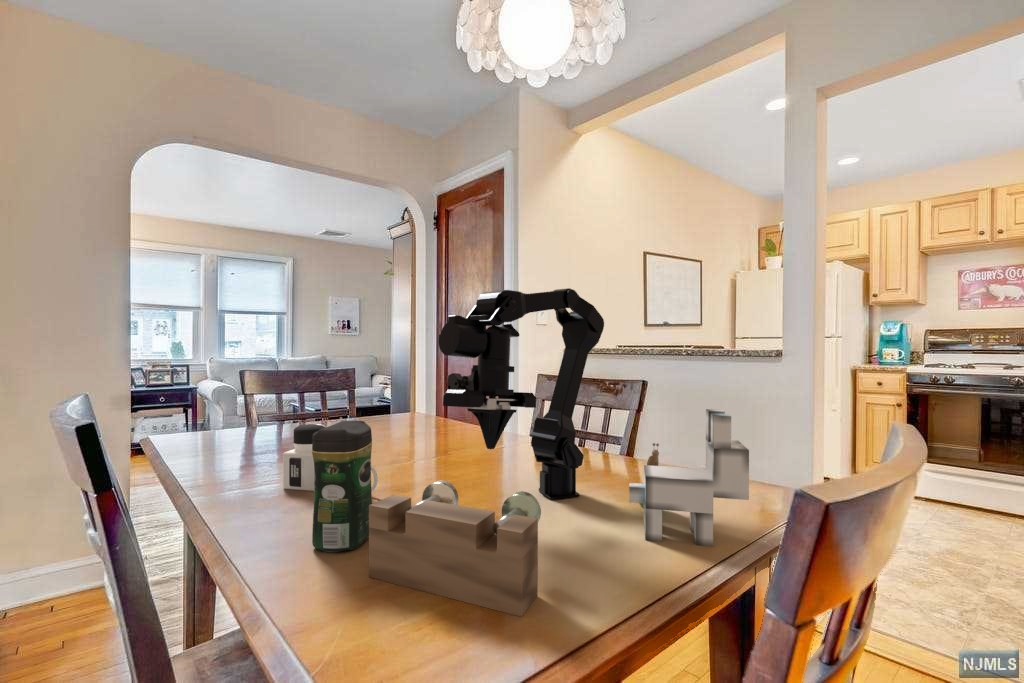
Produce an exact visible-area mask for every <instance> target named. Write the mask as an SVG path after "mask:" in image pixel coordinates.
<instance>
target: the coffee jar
mask: <svg viewBox="0 0 1024 683" xmlns="http://www.w3.org/2000/svg"><path fill="white" fill-rule="evenodd" d="M372 437H373V435H372V427H371V426H370V425H368V424H367V423H366V421H364V420H340V421H339V422H337V423H334V424H332V425H329V426H325V428H322V429H320V430H319V431H317V432H315V433H314V434H313V437H312V439H313V442H312V455H313V460H314V473H315V478H314V491H313V513H312V535H311V536H312V538H311V540H312V542H311V543H312V546H313V548H315V549H317V550H319V551H320V550H321V551H322V552H326V553H328V552H329V553H339V552H343V551H349V550H354V549H356V548H358V547H360V546H361V545H362V544H363V543H364V542H365V541H367V539H369V505H371V504H373V500H372V498H373V497H372V492H371V487H372V475H371V474H372V471H371V465H372V450H373V449H372V448H373V438H372Z"/></svg>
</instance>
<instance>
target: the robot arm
mask: <svg viewBox="0 0 1024 683" xmlns="http://www.w3.org/2000/svg"><path fill="white" fill-rule="evenodd" d="M567 309H570V310H571V311H570V312H569V311H568V310H567ZM550 310H554V312H555V319H556V321H557V323H558V324H559V325H560V326H561V327H562V330H561V331H562V332H561V336H562V341H563V343H564V352H563V356H562V359H561V362H560V367H559V370H558V375H557V377H556V381H555V384H554V388H553V392H552V396H551V401H550V405H549V407H548V411H547V412H546V413H545V415H544V416H542V417H541V416H537V417H536V418H535V420H534V424H533V429H532V431H531V433H530V435H529V436H530V437H531V439H530V440H531V441H530V446H531V447H532V450H533V454H534V457H535V461H536V462H537V463H541V470H540V471H539V487H538V492H540V493H541V494H543V496H545V497H546V498H548V499H550V500H558V499H570V498H577V497H578V498H579V497H580V494H581V493H579V492H578V491H577V490H576V489H577V484H576V483H577V469H579V467H581V466H582V465H583V461H584V457H585V456H584V454H583V452H582V451H581V450H580V448H579V447H578V446H577V444H576V443H575V441H576V435H577V433H576V429H575V425H574V422H573V414H574V410H575V406H576V403H577V399H578V395H579V392H580V387H581V384H582V383H581V382H582V379H583V375H584V372H585V366H586V363H587V359H588V356H589V353H591V351H592V350H593V349H594V348H595V347H596V346H597V344H598V343H599V342H600V339H601V337H602V334H603V331H604V327H605V319H604V318H603V316H602V315H601V313H600V312H599V310H597V308H596V307H595V306H594V305H593V304H592V303H590V302H589V301H587V300H586V299H584V298H582V297H581V296H580V295H579V294H578V292H577V291H576V290H575V289H572V288H570V287H569V288H560V289H559V288H557V289H554V290H551V291H541V292H532V293H531V292H530V293H524V292H523V291H518V290H511V289H503V290H495V291H494V290H492V291H485V292H482V293H480V294H479V295H478V298H477V300H476V302H475V304H474V306H473V307H472V309H471V310H470V312H469V313H468V314H467V315H466V317H464V316H462V315H457V314H453V315H452V314H451V315H448V316H447V322H446V323H444V325H443V327H442V329H441V330H440V334H439V335H438V348H439V350H440V352H441V353H442V354H443V355H444V356H448V357H458V358H459V357H461V358H469V359H476V358H477V364H475V365H474V364H472V367H471V371H470V374H468V375H463V376H462V374H461V373H454V372H453V373H450V374H448V376H447V380H446V381H447V382H446V386H447V387H446V388H447V390H446V391H445V392H444V394H443V401H442V406H443V407H454V408H455V407H456V408H466V410H467V412H471V414H473V416H474V417H476V419H477V421H478V424H479V427H480V430H481V433H482V437H483V440H484V444H485V446H486V449H487V450H494V449H495V448H496V446H497V445H498V442H499V440H500V439H501V436H502V434H503V433H504V430H505V429H506V426H507V425H508V423H509V422H510V420H511V418H512V417H513V415H514V414H515V413H517V409H511V408H513V407H516V408H518V407H519V408H525V409H526V408H529V409H530V408H532V409H533V408H534V409H535V408H537V397H536V396H535V394H534V393H533V392H524V391H523V392H518V391H515V390H514V389H509V388H510V373H515V366H513V365H512V366H511V365H510V360H511V338H518V337H520V333H519V331H518V330H517V329H516V328H514V325H513V324H512V323H511V322H514V321H516V320H518V319H521V318H524V316H525V315H527V314H530V313H536V312H542V311H543V312H544V311H550ZM504 323H505V324H504ZM506 323H507V324H506ZM501 325H502V326H501Z"/></svg>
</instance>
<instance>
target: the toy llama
mask: <svg viewBox="0 0 1024 683" xmlns="http://www.w3.org/2000/svg"><path fill="white" fill-rule="evenodd" d="M715 498H716V499H726V500H727V499H729V500H730V499H731V500H742V501H743V500H745V501H749V500H750V449H749V448H747V447H746V446H745V445H744V444H743V443H742V442H740V441H739V440H735V439H734V440H733V439H732V416H731V415H730V414H729V413H726V412H725V410H723V409H718V408H717V409H713V408H711V409H709V408H705V468H698V467H682V466H681V467H680V466H667V465H666V466H665V465H663V466H661V465H658V466H650V465H647V464H646V465H643V483H640V482H639V483H636V482H629V483H628V502H629V503H634V504H639V503H644V509H643V528H644V539H645V540H644V541H650V542H660V543H662V542H663V511H671V512H673V511H674V512H685V513H689V529H690V531H691V533H693V540H694V544H695V545H696V546H703V547H714V499H715Z"/></svg>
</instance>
